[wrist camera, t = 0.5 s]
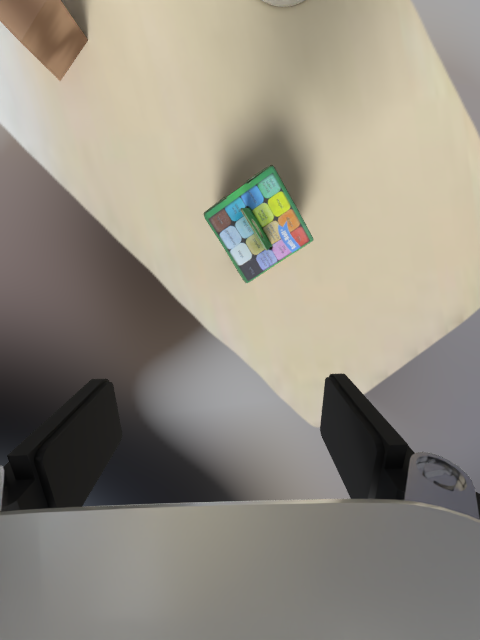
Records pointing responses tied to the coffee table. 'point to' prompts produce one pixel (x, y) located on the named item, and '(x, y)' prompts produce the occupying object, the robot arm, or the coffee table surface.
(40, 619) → the robot arm
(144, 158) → the coffee table surface
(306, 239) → the chalk box
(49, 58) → the walnut block
